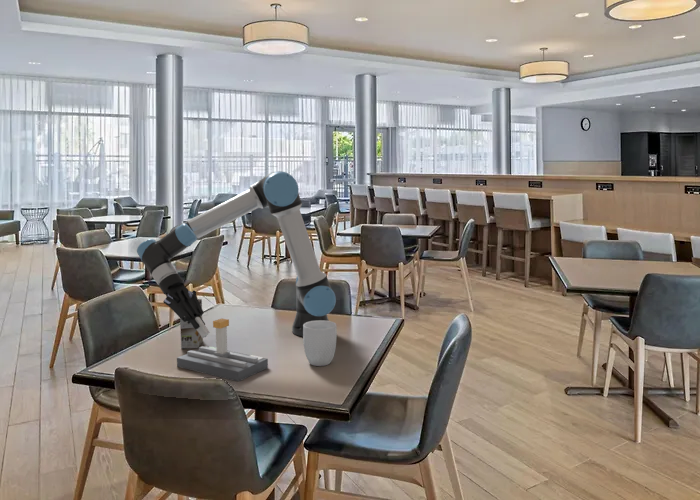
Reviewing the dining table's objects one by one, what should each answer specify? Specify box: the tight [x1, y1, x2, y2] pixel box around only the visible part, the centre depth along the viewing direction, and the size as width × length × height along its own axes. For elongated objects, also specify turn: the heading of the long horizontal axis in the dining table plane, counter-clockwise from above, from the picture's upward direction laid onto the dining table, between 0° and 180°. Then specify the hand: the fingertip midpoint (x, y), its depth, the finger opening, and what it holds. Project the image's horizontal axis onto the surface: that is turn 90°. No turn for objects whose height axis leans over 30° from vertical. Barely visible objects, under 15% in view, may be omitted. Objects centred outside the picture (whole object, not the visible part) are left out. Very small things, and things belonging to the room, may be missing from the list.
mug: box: [302, 320, 337, 367], centre depth 187 cm, size 15×11×13 cm
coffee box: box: [179, 298, 204, 349], centre depth 205 cm, size 9×6×16 cm
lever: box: [212, 318, 230, 358], centre depth 181 cm, size 4×4×12 cm
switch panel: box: [176, 345, 269, 382], centre depth 182 cm, size 26×14×4 cm, turn 60°
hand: (206, 335), depth 184 cm, fingers closed
